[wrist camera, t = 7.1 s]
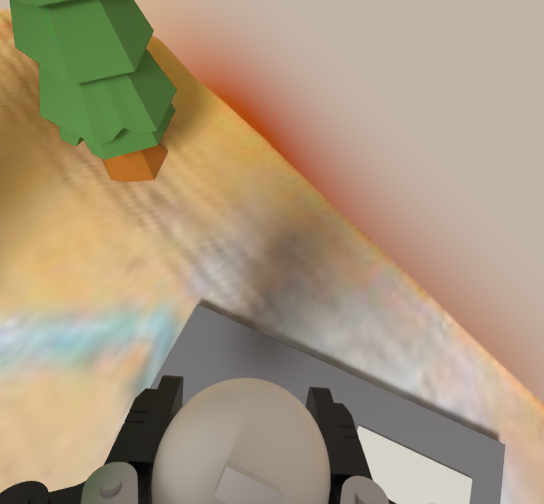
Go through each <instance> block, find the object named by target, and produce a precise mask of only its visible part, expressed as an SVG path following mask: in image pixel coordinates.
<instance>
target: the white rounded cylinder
mask: <svg viewBox="0 0 544 504" xmlns="http://www.w3.org/2000/svg"><path fill="white" fill-rule="evenodd" d="M151 493H152V504H328V502H329V494H330V465H329V458H328V453H327V448H326V445H325V442H324V439H323V436H322V434H321V432H320V429H319V427H318V425H317V423H316V422H315V420H314V418H313V417H312V415H311V413H310V412H309V411H308V410H307V408H306V407H305V406H304V405H303V404H302V403H301V402H300V401H299V400H298V399H297V398H296V397H295V396H294V395H293V394H291V393H290V392H289V391H287V390H286V389H284V388H282V387H280V386H279V385H276V384H274V383H271V382H269V381H265V380H261V379H256V378H235V379H229V380H225V381H222V382H219V383H216V384H214V385H212V386H209V387H207V388H206V389H204V390H202V391H201V392H199V393H198V394H196V395H195V396H194V397H193V398H191V399H190V400H189V401H188V402H187V403H186V404H185V405H184V406H183V407H182V408H181V409H180V410H179V411H178V413H177V414H176V415H175V417H174V418H173V419H172V421H171V423H170V424H169V426H168V428H167V429H166V431H165V433H164V435H163V437H162V440H161V442H160V444H159V447H158V450H157V454H156V457H155V462H154V466H153V472H152V483H151Z"/></svg>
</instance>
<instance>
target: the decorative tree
mask: <svg viewBox="0 0 544 504" xmlns="http://www.w3.org/2000/svg"><path fill="white" fill-rule="evenodd" d="M10 8H11V16H12V24H13V33H14V41H15V47H16V48H17V49H19V50H20V51H22V52H23V53H25V54H26V55H27V56H29V57H30V58H32V59H33V60H35V61H36V62H38V63H39V97H40V116H41V117H43V118H45V119H47V120H49V121H51V122H53V123H55V124H57V125H58V126H59V132H60V139H61V140H63V141H65V142H68V143H70V144H72V145H74V146H77V145H78V144H80V143H81V142H82V141H83V140H84V141H85V142H86V144H87V146H88V147H89V149H90V151H91V152H92V154H94V155H96V156H98V157H100V158H102V160H103V162H104V165H105V167H106V169H107V171H108V173H109V176H110V178H111V180H116V181H122V182H130V181H144V180H154V179H155V177H156V175H157V173H158V171H159V169H160V167H161V165H162V163H163V160H164V158H165V156H166V154H167V152H168V151H166V150H165V149H164V148H163V147H161V146H160V145H159V142H160V140H161V138H162V136H163V134H164V132H165V130H166V128H167V126H168V124H169V122H170V120H171V118H172V116H173V114H174V112H175V108H174V107H173V105H172V104H171V101H172V99H173V96H174V94H175V92H176V90H177V89H176V88H175V87H174V85H173V84H172V83H171V81H170V80H169V79H168V77H167V76H166V75H165V73H164V72H163V71H162V69H161V68H160V67H159V65H158V64H157V63H156V61H155V60H154V59H153V57H152V56H151V55H150V53H149V52H148V51H147V49H146V47H147V44H148V42H149V40H150V38H151V36H152V33H153V31H154V30H153V29H152V27H151V26H150V24H149V23H148V21H147V20H146V18H145V16H144V15H143V14H142V12H141V10H140V9H139V7H138V6H137V4H136V3H135V1H134V0H10Z"/></svg>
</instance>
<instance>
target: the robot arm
mask: <svg viewBox="0 0 544 504" xmlns="http://www.w3.org/2000/svg"><path fill="white" fill-rule="evenodd" d="M183 381H184V378H183V376H172V375H163V376H162V378H161V381H160V383H159V386H158V388H157V389H148V388H146V389H145V390H144V391H143V392H142V393H141V394H140V395H138V396H137V397H136V398H135V400H134V402H133V404H132V407H131V409H130V412H129V413H128V415H127V417H126V419H125V423H124V424H123V426H122V428H121V430H120V432H119V434H118V436H117V439H116V441H115V443H114V445H113V447H112V449H111V451H110V453H109V456H108V458H107V460H106V462H105V464H104V465H103V466H102V467H100V468H98V469H97V470H96V471H94V472H93V473H92V474H91V475H90V477H89V478H88V479H87V481H85V482H83V483H81V484H79V485H76V486H73V487H69V488H65V489H61V490H57V491H53V492H48V489H47V487H46V486H45V485H44V484H42V483H40V482H37V481H26V482H22V483H19V484H16V485H13V486H11V487H9V488H8V489H6V490H4V491H3V492H1V493H0V504H152V493H151V483H152V472H153V466H154V462H155V457H156V454H157V450H158V447H159V444H160V442H161V440H162V437H163V435H164V433H165V431H166V429H167V428H168V426H169V424H170V423H171V421H172V419H173V418H174V417H175V415H176V414H177V413H178V411H179V410H180V409H181V408H182V403H183ZM305 407H306V408H307V410H308V411H309V412H310V413H311V415H312V417H313V418H314V420H315V422H316V423H317V425H318V427H319V429H320V432H321V434H322V436H323V439H324V442H325V445H326V448H327V453H328V458H329V465H330V494H329V502H328V504H397V503H394V502H393V501H391V500H390V499H388V498H387V496H386V494H385V492H384V491H383V489H382V488H381V487H380V486H379V485H378V484H377V483H375V482H374V481H373V478H372V476H371V473H370V469H369V466H368V463H367V460H366V457H365V454H364V451H363V448H362V445H361V442H360V439H359V436H358V433H357V430H356V429H355V424H354V421H353V417H352V414H351V413H350V412H349V411H348V409H347V408H346V407H345V406H344V404H343V403H334V402H333V398H332V394H331V391H330V389H329V388H322V387H310V388H309V391H308V396H307V401H306V406H305Z"/></svg>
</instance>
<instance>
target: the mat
mask: <svg viewBox="0 0 544 504" xmlns="http://www.w3.org/2000/svg"><path fill="white" fill-rule="evenodd" d="M163 375H172V376H183V378H184V381H183V403H182V407H183V406H184V405H185V404H186V403H187V402H188V401H189V400H190V399H191V398H193V397H194V396H195V395H196V394H198V393H199V392H201V391H202V390H204V389H206V388H207V387H209V386H212V385H214V384H216V383H219V382H222V381H225V380H229V379H235V378H256V379H261V380H265V381H269V382H271V383H274V384H276V385H279V386H280V387H282V388H284V389H286V390H287V391H289V392H290V393H291V394H293V395H294V396H295V397H296V398H297V399H298V400H299V401H300V402H301V403H302V404H303V405H304V406H306V401H307V396H308V391H309V388H310V387H322V388H329V389H330V391H331V394H332V398H333V402H334V403H343V404H344V406H345V407H346V408H347V409H348V411H349V412H350V413H351V414H352V417H353V421H354V424H355V429H356V430H357V433H358V436H359V439H360V442H361V445H362V448H363V451H364V454H365V457H366V460H367V463H368V466H369V469H370V473H371V476H372V478H373V481H374V482H375V483H377V484H378V485H379V486H380V487H381V488H382V489H383V491H384V492H385V494H386V496H387V498H388V499H390V500H391V501H393V502H394V503H397V504H500V498H501V487H502V475H503V464H504V452H505V444H503V443H500V442H498V441H496V440H494V439H492V438H490V437H487V436H485V435H483V434H481V433H479V432H476V431H474V430H472V429H470V428H468V427H465V426H463V425H461V424H459V423H457V422H455V421H452V420H450V419H448V418H446V417H444V416H441V415H439V414H437V413H435V412H433V411H431V410H428V409H426V408H424V407H422V406H420V405H417V404H415V403H413V402H411V401H409V400H406V399H404V398H402V397H400V396H398V395H396V394H393V393H391V392H389V391H387V390H385V389H382V388H380V387H378V386H376V385H374V384H372V383H369V382H367V381H365V380H363V379H361V378H358V377H356V376H354V375H352V374H350V373H347V372H345V371H343V370H341V369H339V368H337V367H334V366H332V365H330V364H328V363H326V362H323V361H321V360H319V359H317V358H315V357H312V356H310V355H308V354H306V353H304V352H302V351H299V350H297V349H295V348H293V347H291V346H288V345H286V344H284V343H282V342H280V341H278V340H275V339H273V338H271V337H269V336H267V335H264V334H262V333H260V332H258V331H256V330H253V329H251V328H249V327H247V326H245V325H243V324H240V323H238V322H236V321H234V320H232V319H229V318H227V317H225V316H223V315H221V314H218V313H216V312H214V311H212V310H210V309H208V308H205V307H203V306H201V305H199V304H197V306H196V308H195V309H194V311H193V313H192V315H191V317H190V318H189V320H188V322H187V324H186V325H185V327H184V329H183V331H182V333H181V334H180V336H179V338H178V340H177V342H176V343H175V345H174V347H173V349H172V350H171V352H170V354H169V356H168V358H167V359H166V361H165V363H164V365H163V366H162V368H161V370H160V372H159V374H158V375H157V377H156V379H155V381H154V383H153V384H152V386H151V388H150V389H157V388H158V386H159V383H160V381H161V378H162V376H163Z"/></svg>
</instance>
